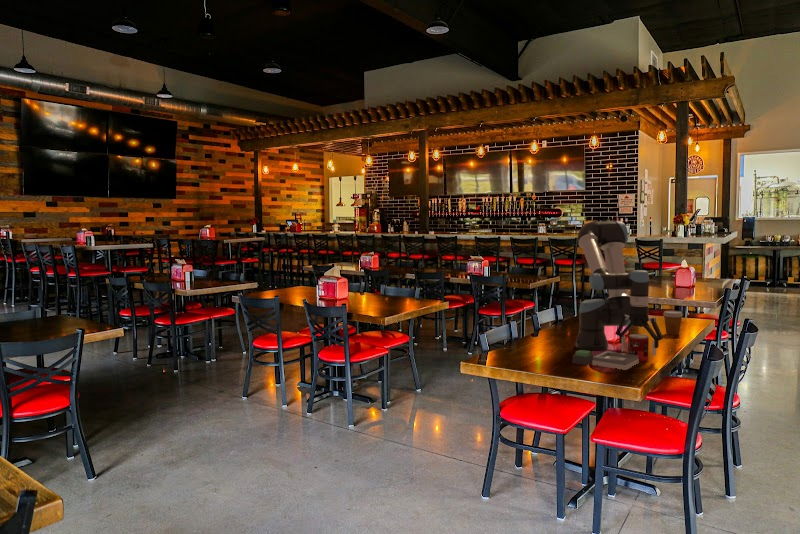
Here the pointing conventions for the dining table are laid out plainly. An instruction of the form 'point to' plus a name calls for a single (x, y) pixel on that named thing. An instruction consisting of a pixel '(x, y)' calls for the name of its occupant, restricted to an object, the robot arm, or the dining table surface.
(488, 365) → the dining table surface
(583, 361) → the button base
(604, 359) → the pocket plate
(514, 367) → the dining table surface
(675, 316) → the disposable coffee cup
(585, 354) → the button
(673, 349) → the dining table surface
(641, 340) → the canned food
